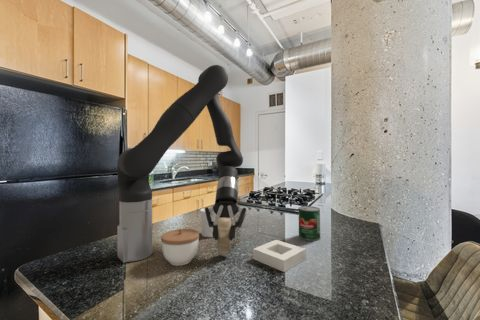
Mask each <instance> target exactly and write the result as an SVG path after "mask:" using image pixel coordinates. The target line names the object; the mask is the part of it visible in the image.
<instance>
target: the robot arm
mask: <svg viewBox="0 0 480 320" xmlns="http://www.w3.org/2000/svg"><path fill="white" fill-rule="evenodd" d="M228 80H229V74H228V72H227V70H226V68H224V66H222V65H219V64H213V65H210V66H209V67H207V68H206V69H205V70H203V71H202V72H201V73H200V74H199V76H198V82H196V84H195V85H194V86H192V87H191V88H190V89H188V90H187V91H186V92H184V93H183V94H182V95H181V96H179V97H178V98H177V99H176V100H175V101H174V102H172V103H171V105H169V106H168V108H167V109H166V110H164V112H163V113H162V114H161V115H160V118H158V120H157V121H156V123H155V125H154V127H153V129H152V130H151V131H150V132H149V133H148V135H146V137H144V138H143V139H142V140H140V141H139V143H137V144H136V145H135V146H134V147H132V148H130V149H129V148H128V149H126V150H124V151H123V152H121V154H119V157H118V159H117V168H116V169H117V190H118V198H119V199H118V200H119V205H118V206H119V209H118V210H119V212H118V213H119V224H118V225H117V232H116V233H117V234H116V235H117V237H116V238H117V241H116V242H117V244H116V245H117V247H116V249H117V252H116V253H117V254H116V255H117V258H118V259H119V260H120V261H121V262H122V263H128V262H137V261H142V260H145V259H147V258H149V257H151V256H152V255H153V190H152V187H151V185H150V174H152V172H153V171H154V170H155V168H156V166H157V165H158V164H159V162H160V161H161V159H162V158H163V156H164V155H165V154H166V152H167V151H168V149H170V147H171V146H172V145H173V144H175V143H176V142H177V140H179V138H181V136H182V135H183V134H184V133H185V132H186V131H187V130H188V129H189V128H190V127H191V125H192V124H193V123H194V122H195V121H196V119H197V118H198V117H199V116H200V114H201V113H202V112H203V110H204V109H207V110H208V113H209V116H210V119H211V123H212V127H213V131H214V136H215V141H216V144H217V146H219V147H228V148H229V149H230V150H226V151H222V152H219V153H218V154H217V155H216V158H215V160H216V164H217V168H218V181H217V185H216V192H215V201H214V205H213V206H212V207H213V208H210V207H204V208H205V212H206V216H207V221H208V225H209V227H213V237H212V238H213V239H214V241H218V218H221V217H228V218H231V227H230V240H231V241H234V239H235V238H236V229H237V228H242V225H243V223H244V220H245V218H246V215H247V208H246V207H243V208H241V207H239V205H238V202H239V201H238V200H239V199H238V198H239V197H238V195H239V185H238V179H239V178H238V176H239V174H238V170H237V168H238V167H241V166H242V165H243V161H244V158H243V154H242V152H241V151H240V149H239V147H238V145H237V142H236V140H235V138H234V137H235V136H234V132H233V128H232V124H231V122H230V119H229V117H228V116H227V113H226V112H225V111H224V109H223V107H222V105H221V102H220V99H219V98H220V97H219V93H220V92H221V91H222V90H223V89H225V88H226V87H227V84H228V82H229V81H228ZM213 211H214V212H215V214H216V218H215V221H214V222H213V221H212V220H211V215H212V212H213ZM237 213H239V216H238V219H237V221H236V220H235V216H236V214H237Z"/></svg>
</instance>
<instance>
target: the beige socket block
mask: <svg viewBox="0 0 480 320" xmlns="http://www.w3.org/2000/svg"><path fill="white" fill-rule="evenodd" d="M252 259H253V260H255V261H257V262H259V263H261V264H263V265H267V266H269V267H270V268H273V269H275V270H278V271H280V272H282V273H285V272H287V271H288V270H291V269H292V268H293V267H295V266H297V265H299V264H300V263H302V262H304V261H306V260H307V249H306V248H304V247H301V246H298V245H294V244H292V243H288V242H286V241H285V242H284V241H281V240H279V239H275V240H272V241H268V242H266V243H264V244H261V245H259V246H256V247H254V248H252Z"/></svg>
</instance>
